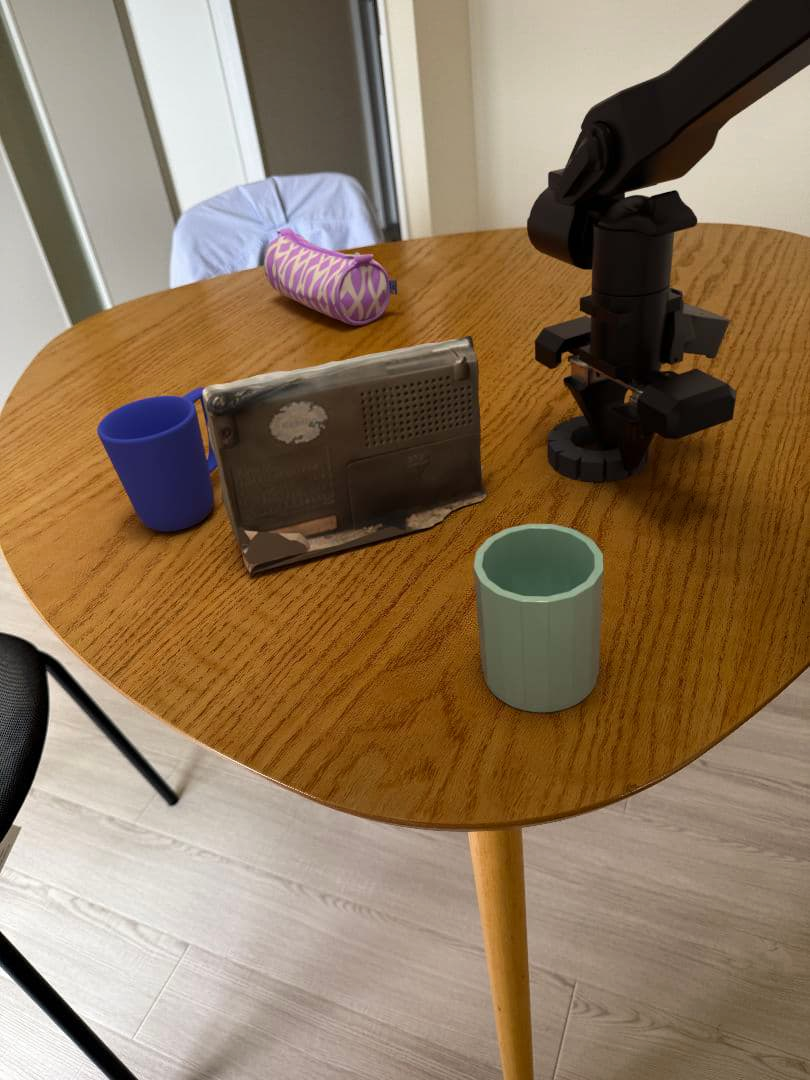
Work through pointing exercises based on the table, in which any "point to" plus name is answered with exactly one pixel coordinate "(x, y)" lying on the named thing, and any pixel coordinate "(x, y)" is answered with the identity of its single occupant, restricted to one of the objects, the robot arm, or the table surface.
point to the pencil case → (328, 279)
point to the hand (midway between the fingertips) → (620, 462)
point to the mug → (162, 459)
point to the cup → (539, 615)
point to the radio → (347, 450)
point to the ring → (584, 454)
